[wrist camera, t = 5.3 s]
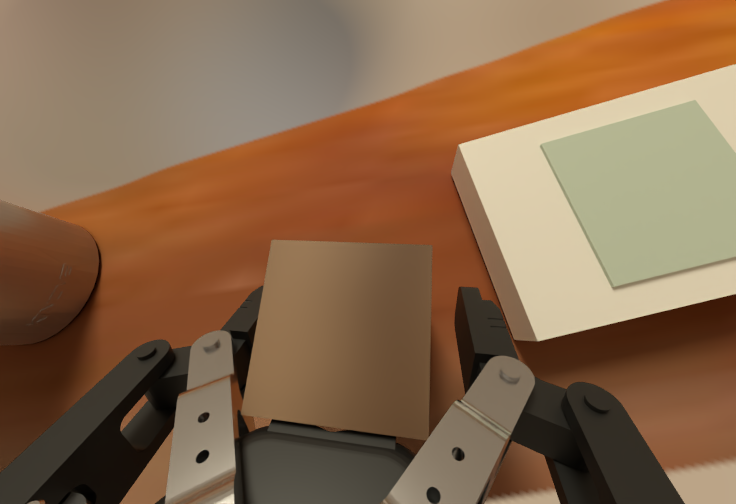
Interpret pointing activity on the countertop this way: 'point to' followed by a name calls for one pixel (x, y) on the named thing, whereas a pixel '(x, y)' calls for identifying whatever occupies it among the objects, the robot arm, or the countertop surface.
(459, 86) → the countertop surface
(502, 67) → the countertop surface
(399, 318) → the walnut block
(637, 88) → the countertop surface
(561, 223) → the plinth
